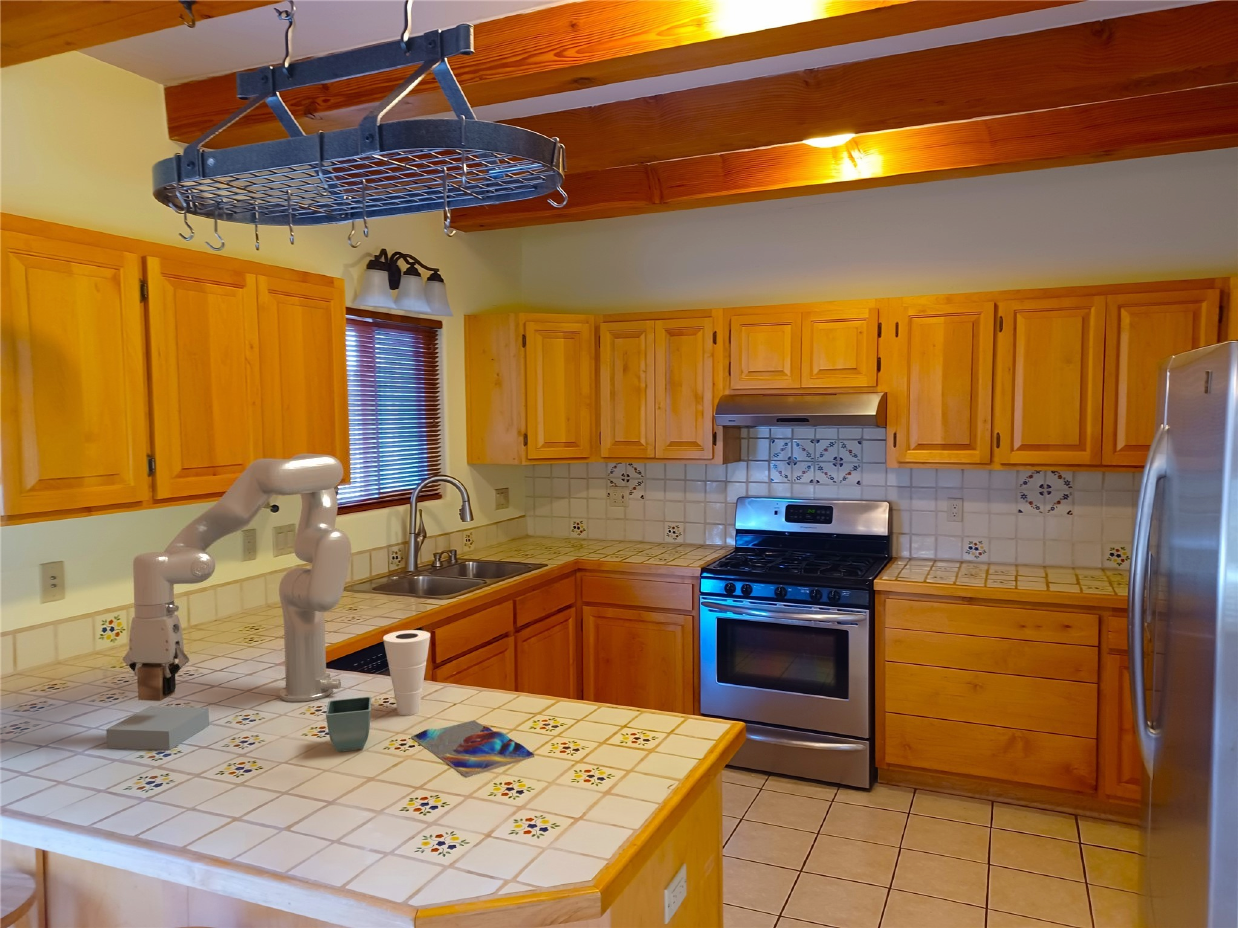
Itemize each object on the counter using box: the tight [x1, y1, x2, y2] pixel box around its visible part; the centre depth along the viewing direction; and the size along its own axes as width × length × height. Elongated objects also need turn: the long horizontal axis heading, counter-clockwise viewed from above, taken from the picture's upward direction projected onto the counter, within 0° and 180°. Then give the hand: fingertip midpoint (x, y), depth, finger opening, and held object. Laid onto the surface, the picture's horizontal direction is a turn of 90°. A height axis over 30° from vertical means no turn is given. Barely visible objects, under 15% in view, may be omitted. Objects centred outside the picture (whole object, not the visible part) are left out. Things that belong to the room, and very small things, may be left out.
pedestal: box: [106, 705, 210, 751], centre depth 182 cm, size 14×14×4 cm
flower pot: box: [325, 696, 372, 752], centre depth 175 cm, size 9×9×9 cm
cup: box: [382, 629, 431, 716], centre depth 195 cm, size 11×11×18 cm
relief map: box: [410, 719, 535, 778], centre depth 175 cm, size 25×15×2 cm, turn 38°
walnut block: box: [137, 664, 176, 702], centre depth 181 cm, size 5×5×7 cm
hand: (156, 692), depth 181 cm, fingers closed on walnut block, 5 cm apart
